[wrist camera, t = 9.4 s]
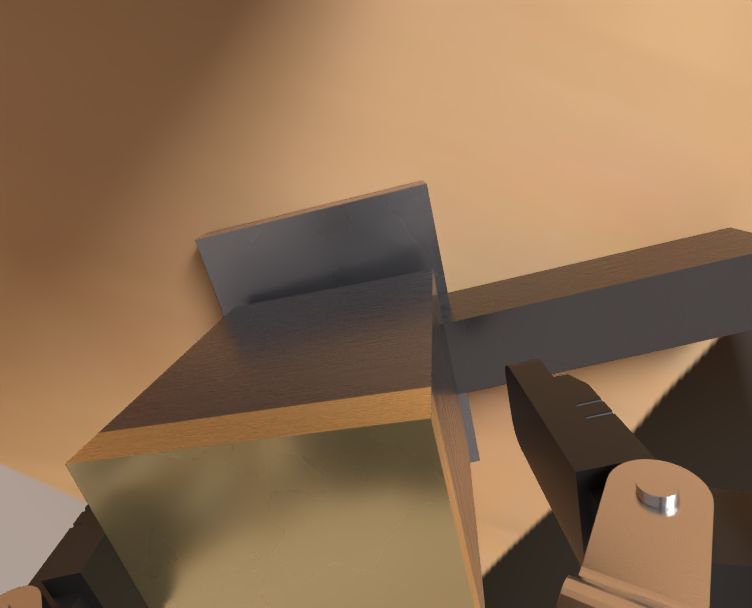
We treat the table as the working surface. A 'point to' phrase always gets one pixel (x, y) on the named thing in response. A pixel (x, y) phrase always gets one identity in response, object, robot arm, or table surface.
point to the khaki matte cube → (297, 461)
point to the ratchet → (494, 287)
